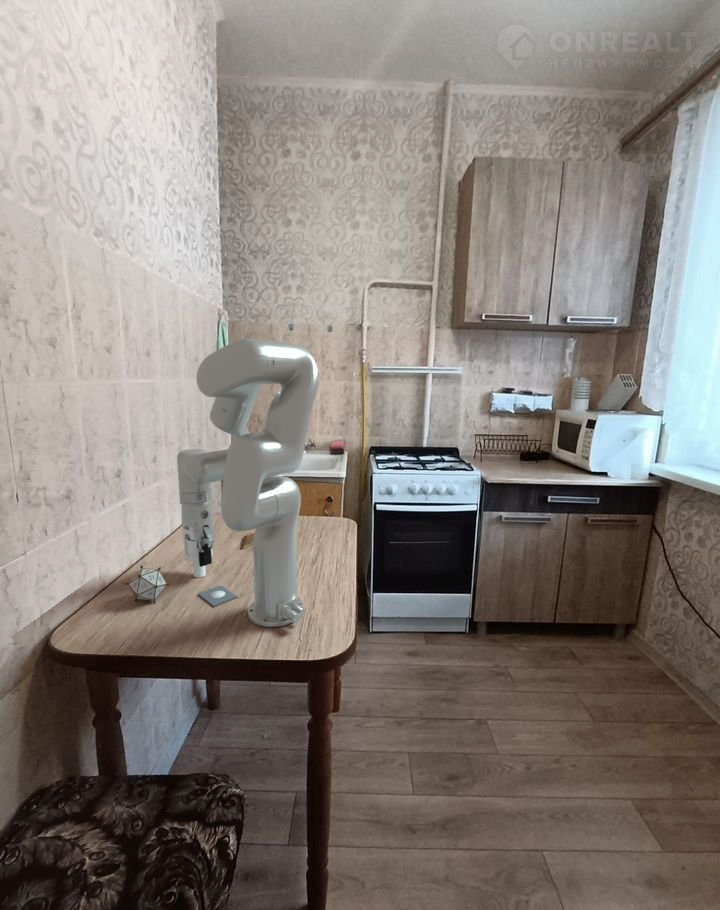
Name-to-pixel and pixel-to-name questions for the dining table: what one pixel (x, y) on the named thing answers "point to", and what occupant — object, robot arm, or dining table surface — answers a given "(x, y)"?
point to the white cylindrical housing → (193, 552)
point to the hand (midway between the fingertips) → (199, 560)
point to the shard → (248, 540)
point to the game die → (147, 584)
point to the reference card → (217, 595)
